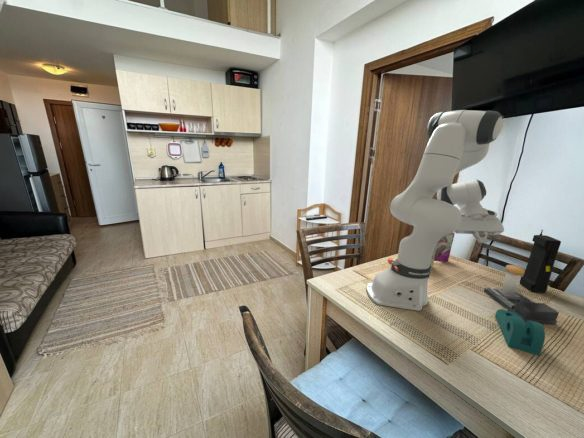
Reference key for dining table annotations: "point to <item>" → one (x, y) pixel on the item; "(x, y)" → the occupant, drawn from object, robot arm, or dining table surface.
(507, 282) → the knob
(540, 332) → the bracket
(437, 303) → the dining table surface
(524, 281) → the portable radio
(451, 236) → the wafer cookie box
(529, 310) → the mount
